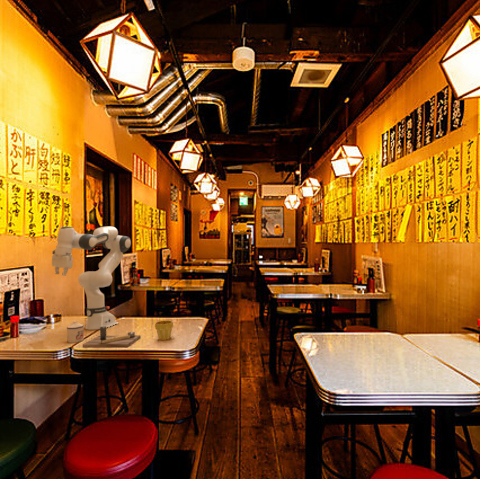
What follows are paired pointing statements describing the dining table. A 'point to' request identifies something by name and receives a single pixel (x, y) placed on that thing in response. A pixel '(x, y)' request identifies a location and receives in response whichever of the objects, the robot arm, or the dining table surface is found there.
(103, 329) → the lever
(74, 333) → the teacup with lid
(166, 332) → the plant pot
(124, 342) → the lever board
